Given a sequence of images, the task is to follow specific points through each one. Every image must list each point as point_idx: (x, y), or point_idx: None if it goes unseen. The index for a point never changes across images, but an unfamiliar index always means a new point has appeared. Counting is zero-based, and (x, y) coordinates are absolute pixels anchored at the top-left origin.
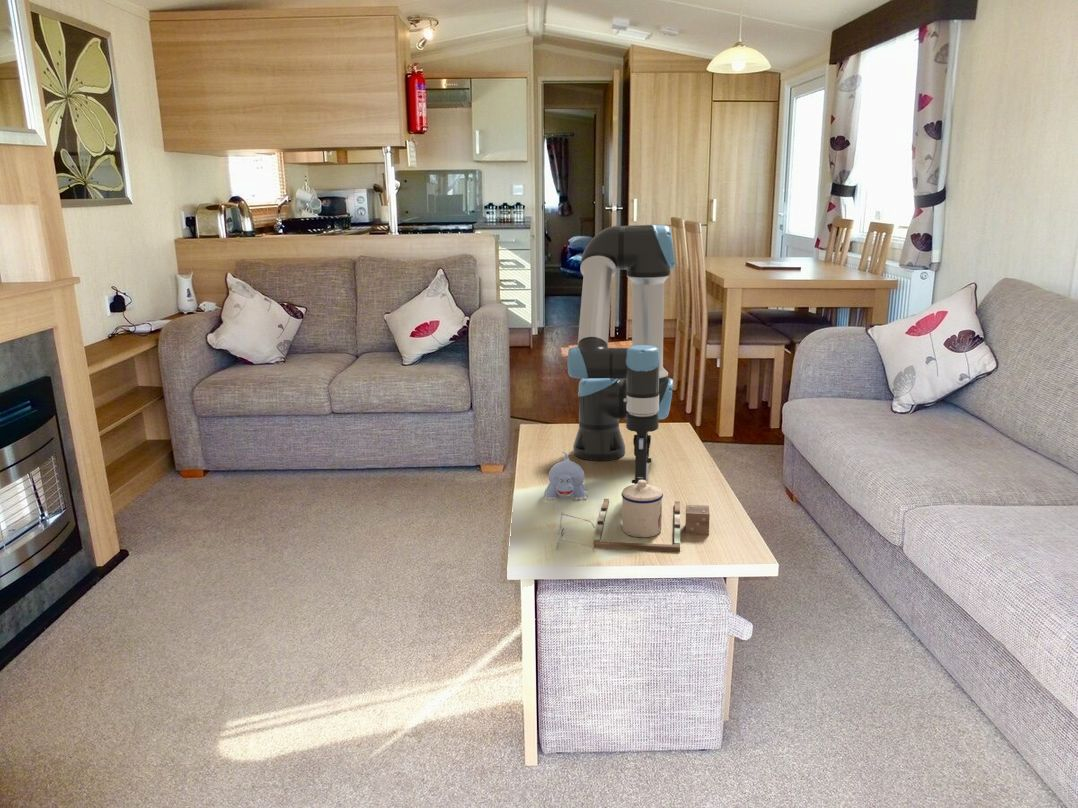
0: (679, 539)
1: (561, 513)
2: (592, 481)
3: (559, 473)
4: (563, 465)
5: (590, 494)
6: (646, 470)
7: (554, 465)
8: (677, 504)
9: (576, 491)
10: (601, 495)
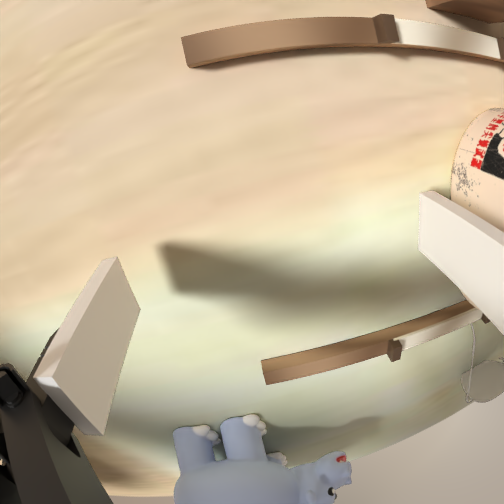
0: None
1: (497, 395)
2: None
3: None
4: None
5: (202, 416)
6: (79, 350)
7: None
8: (237, 38)
9: (264, 451)
10: (195, 394)
